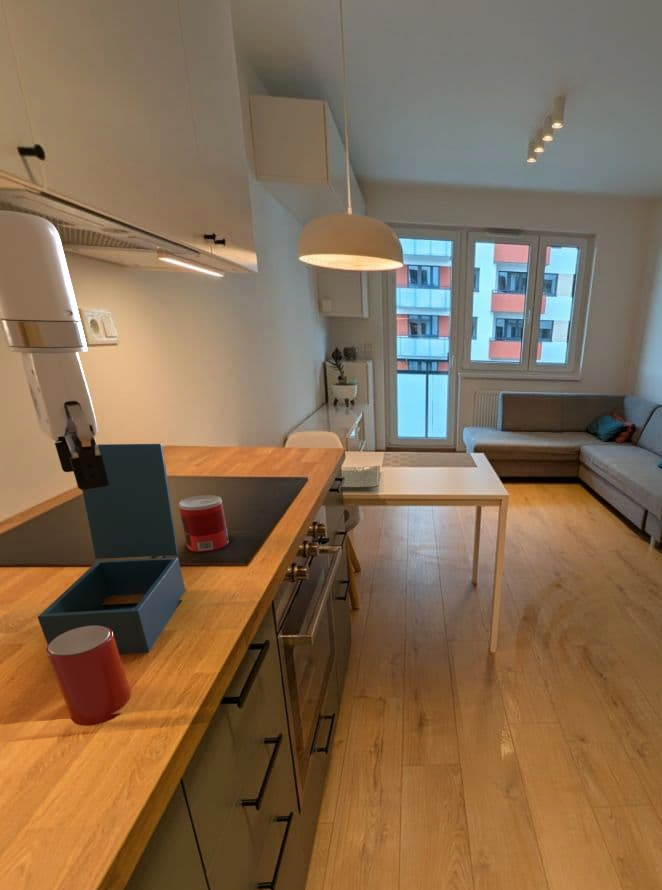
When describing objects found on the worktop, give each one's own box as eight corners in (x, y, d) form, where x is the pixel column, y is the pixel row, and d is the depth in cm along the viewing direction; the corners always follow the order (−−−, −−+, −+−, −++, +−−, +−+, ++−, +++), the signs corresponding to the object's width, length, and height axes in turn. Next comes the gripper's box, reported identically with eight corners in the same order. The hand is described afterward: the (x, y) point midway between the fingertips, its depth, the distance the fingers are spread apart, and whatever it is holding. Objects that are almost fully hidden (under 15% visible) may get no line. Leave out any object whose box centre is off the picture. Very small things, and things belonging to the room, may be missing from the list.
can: (59, 728, 61) (32, 658, 57) (86, 691, 67) (63, 626, 63) (119, 722, 62) (97, 653, 58) (140, 687, 68) (121, 622, 64)
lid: (160, 443, 81) (171, 442, 86) (73, 444, 79) (89, 443, 84) (176, 555, 86) (186, 548, 91) (95, 558, 84) (109, 551, 89)
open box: (150, 656, 74) (137, 610, 71) (54, 663, 72) (37, 616, 69) (187, 596, 90) (178, 557, 86) (109, 601, 88) (97, 560, 84)
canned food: (237, 547, 109) (229, 499, 104) (204, 561, 103) (194, 510, 98) (214, 539, 112) (205, 492, 108) (181, 552, 106) (170, 502, 101)
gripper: (-4, 334, 63) (39, 468, 70) (15, 342, 52) (64, 501, 59) (69, 334, 68) (102, 460, 75) (101, 341, 56) (136, 489, 64)
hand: (85, 478), depth 67 cm, fingers open, 9 cm apart
